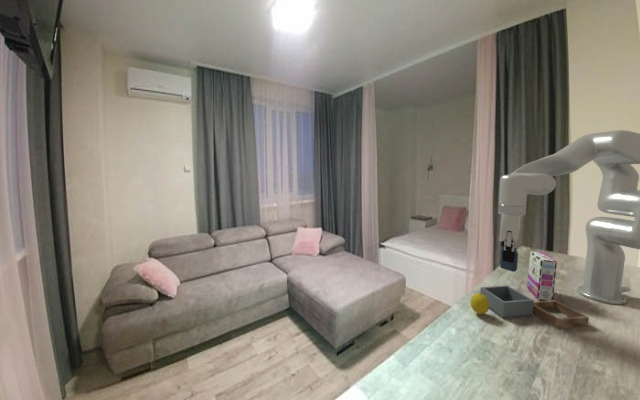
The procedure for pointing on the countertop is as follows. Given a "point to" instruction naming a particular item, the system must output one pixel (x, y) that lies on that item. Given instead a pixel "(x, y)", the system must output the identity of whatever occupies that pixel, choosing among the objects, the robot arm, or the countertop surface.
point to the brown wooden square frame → (574, 316)
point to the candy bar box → (541, 276)
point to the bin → (508, 302)
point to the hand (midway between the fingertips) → (508, 259)
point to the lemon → (479, 303)
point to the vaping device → (508, 265)
